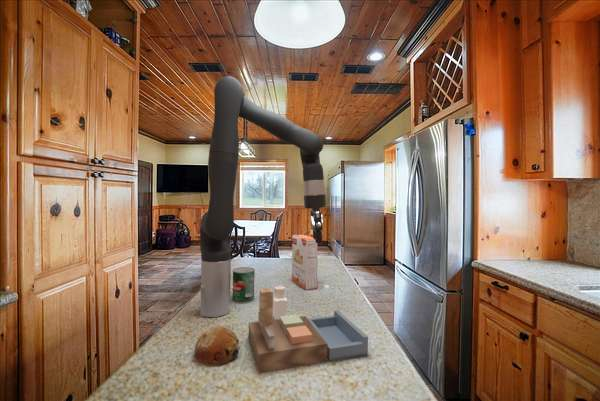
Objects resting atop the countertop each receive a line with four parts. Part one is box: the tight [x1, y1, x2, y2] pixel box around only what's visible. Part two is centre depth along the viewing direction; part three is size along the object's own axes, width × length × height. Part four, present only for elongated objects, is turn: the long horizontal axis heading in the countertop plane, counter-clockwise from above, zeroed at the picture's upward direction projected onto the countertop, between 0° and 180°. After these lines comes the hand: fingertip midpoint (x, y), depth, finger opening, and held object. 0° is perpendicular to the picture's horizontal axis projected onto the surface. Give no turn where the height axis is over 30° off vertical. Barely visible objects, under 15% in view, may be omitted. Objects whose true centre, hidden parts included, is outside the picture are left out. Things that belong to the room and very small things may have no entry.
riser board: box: [248, 315, 328, 373], centre depth 72 cm, size 16×16×4 cm
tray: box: [307, 309, 369, 362], centre depth 76 cm, size 10×17×4 cm, turn 18°
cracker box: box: [291, 234, 319, 291], centre depth 124 cm, size 14×6×21 cm, turn 25°
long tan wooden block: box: [257, 287, 274, 350], centre depth 70 cm, size 3×14×11 cm, turn 18°
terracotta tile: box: [286, 325, 312, 344], centre depth 69 cm, size 5×5×2 cm
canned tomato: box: [231, 266, 256, 304], centre depth 105 cm, size 8×8×11 cm
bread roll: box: [194, 325, 241, 366], centre depth 69 cm, size 10×10×8 cm
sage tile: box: [280, 314, 303, 331], centre depth 76 cm, size 5×5×2 cm
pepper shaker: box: [273, 285, 288, 320], centre depth 90 cm, size 4×4×10 cm
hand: (317, 240), depth 99 cm, fingers open, 8 cm apart
